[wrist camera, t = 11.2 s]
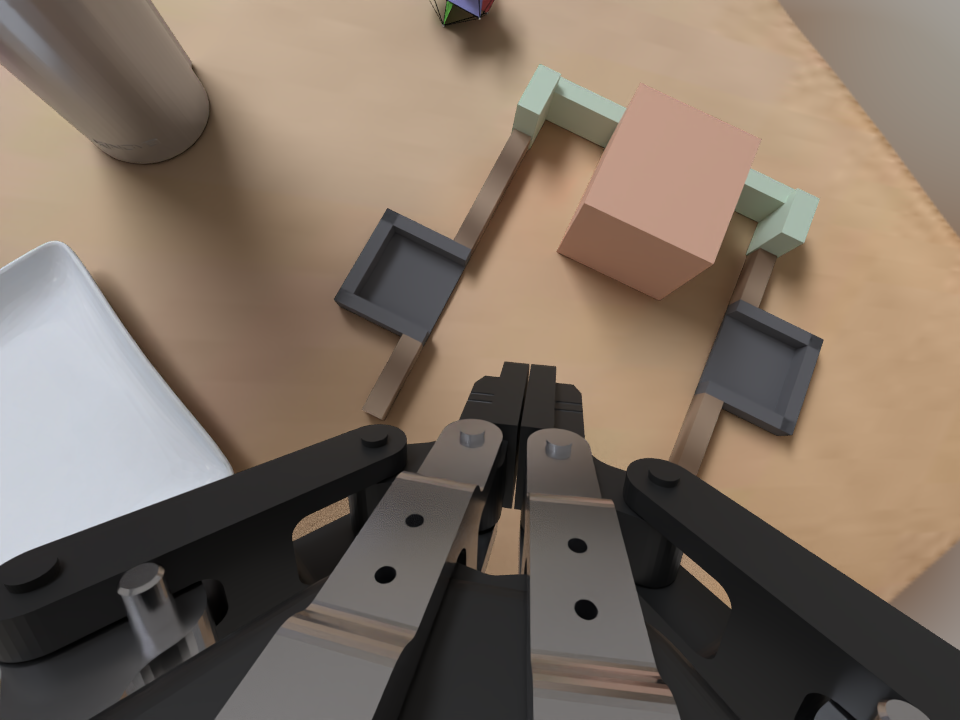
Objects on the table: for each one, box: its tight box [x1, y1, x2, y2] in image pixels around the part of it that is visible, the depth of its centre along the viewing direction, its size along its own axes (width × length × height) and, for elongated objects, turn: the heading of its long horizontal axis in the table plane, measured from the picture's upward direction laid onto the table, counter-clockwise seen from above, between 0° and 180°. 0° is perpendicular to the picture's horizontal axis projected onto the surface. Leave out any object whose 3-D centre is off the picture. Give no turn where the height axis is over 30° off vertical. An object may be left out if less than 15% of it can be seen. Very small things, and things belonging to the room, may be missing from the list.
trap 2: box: [334, 208, 471, 346], centre depth 34 cm, size 8×7×2 cm
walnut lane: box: [362, 129, 777, 476], centre depth 34 cm, size 28×23×2 cm
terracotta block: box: [556, 82, 762, 300], centre depth 33 cm, size 10×9×8 cm
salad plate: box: [0, 241, 234, 565], centre depth 29 cm, size 21×21×3 cm
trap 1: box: [694, 299, 823, 436], centre depth 34 cm, size 8×7×2 cm
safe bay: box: [511, 64, 819, 258], centre depth 35 cm, size 5×23×4 cm, turn 64°
